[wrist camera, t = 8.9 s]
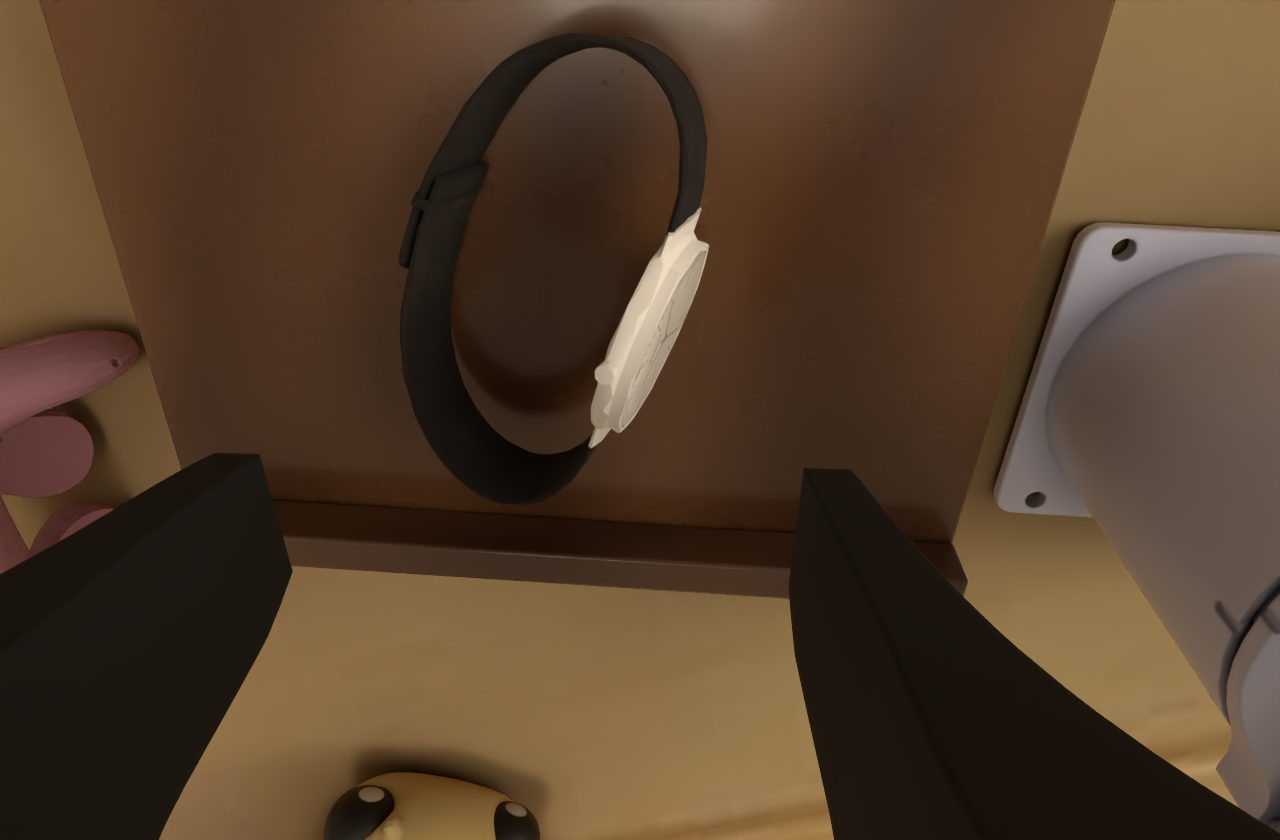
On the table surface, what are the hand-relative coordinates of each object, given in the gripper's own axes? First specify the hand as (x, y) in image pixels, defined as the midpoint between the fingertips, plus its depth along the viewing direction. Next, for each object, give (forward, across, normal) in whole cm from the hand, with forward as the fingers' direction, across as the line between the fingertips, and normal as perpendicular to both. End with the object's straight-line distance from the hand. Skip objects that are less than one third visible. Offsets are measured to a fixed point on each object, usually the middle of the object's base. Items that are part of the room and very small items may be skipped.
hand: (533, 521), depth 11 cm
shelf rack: (+10, 0, -1) cm, 10 cm away
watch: (+5, 0, -2) cm, 5 cm away
